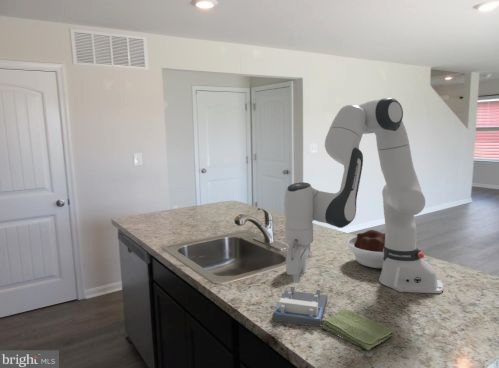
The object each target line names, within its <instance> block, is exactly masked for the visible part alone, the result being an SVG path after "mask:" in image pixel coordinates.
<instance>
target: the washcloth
mask: <svg viewBox="0 0 499 368" xmlns="http://www.w3.org/2000/svg"><path fill="white" fill-rule="evenodd" d="M321 327H322V328H323V329H324V330H325V331H328V332H329V333H331V332H332V333H331V334H333V333H334V334H333V335H335V334H336V335H335V336H337V335H339V336H341V337H343V338H342V339H343V340H346V341H348V342H349V341H350V343H352V344H355V345H357V346H359V347H361V348H362V349H364V350H365V351H370V350H371V349H373V348H375V347H376V346H377V345H380V344H382V343H383V342H385V341H386V340H387V339H389V338H390V337H392V336H393V335H394V331H392V329H391V328H389V327H387V326H386V325H384V324H382V323H379V322H378V321H376V320H372V319H371V318H367V317H365V316H363V315H360V314H359V313H356V312H355V311H352V310H349V309H343V310H340V311H339V312H337V313H335V315H333V316H328V317H326V318H323V320H322V322H321ZM339 336H338V337H339ZM341 337H340V338H341ZM381 342H382V343H381Z"/></svg>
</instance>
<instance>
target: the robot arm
mask: <svg viewBox="0 0 499 368" xmlns="http://www.w3.org/2000/svg"><path fill="white" fill-rule="evenodd" d="M403 110H404V109H403V107H402V104H401V103H400V102H399V101H398V100H397V99H396V98H392V97H383V98H381V99H376V100H369V101H366V102H364V103H362V104H359V105H354V104H347V105H345V106H342V108H340V110H339V111H338V112H337V114H336V115H335V117H334V118H333V121H332V122H331V125H330V127H329V129H328V132H327V134H326V136H325V140H324V149H325V151H326V153H327V155H328V156H329V157H331V158H332V159H333V160H334V161H336V162H337V163H339V164H341V165H343V173H342V179H341V183H340V189H339V190H338V191H337V192H335V193H333V192H327V191H322V190H318V189H316V188H314V187H313V186H312V185H311V183H308V182H301V181H300V182H296V183H292V184H289V185H288V186H286V187H287V188H286V190H285V194H284V203H283V204H284V205H283V207H284V210H283V211H284V212H283V213H284V215H285V221H284V230H283V231H284V233H283V234H284V242H285V243H287V244H289V248H288V251H287V250H286V265H285V267H286V269H285V270H286V271H285V272H286V273H287V275H291V276H292V278H293V283H295V284H299V283H300V281H301V276H303V275H304V274H305V273H304V264H305V261H306V262H307V258H308V257H309V255H310V253H311V252H310V251H311V244H312V243H313V242H314V221H316V222H318V223H324V224H327V225H330V226H332V227H333V226H334V227H336V228H339V229H342V228H345V227H347V226H348V225H350V224H351V223H352V222H353V221H354V219H355V218H356V214H357V199H358V193H359V188H360V183H361V182H360V181H361V179H362V178H361V176H362V171H363V165H364V156H363V155H364V154H363V152H362V151H361V149H360V144H361V141H362V138H363V135H364V134H365V135H366V134H367V135H368V134H374V135H375V138H376V139H375V141H376V148H377V153H378V158H379V159H378V160H379V165H380V170H381V173H382V175H383V178H384V182H385V185H384V186H383V188H382V192H381V193H382V203H383V215H384V225H385V226H384V229H385V230H384V233H385V245H384V247H383V260H384V261H383V267H382V268H381V272H380V275H379V278H378V282H380V283H381V284H382V285H383V286H386V287H388V288H391V289H393V290H394V291H396V292H399V293H417V294H418V293H423V294H425V293H426V294H441V293H443V292H442V291H444V284H443V282H442V281H441V280H440V279H438V278H437V277H438V276H437V273H436V270H435V269H434V267H433V266H432V265H431V264H430V263H429V262H427V261H426V260H424V257H425V254H424V253H423V251H422V250H421V249H420V248H419V247H417V230H418V229H417V224H416V220H415V216H417V215H418V214H420V213H421V212H423V210H424V209H425V206H426V197H425V195H424V194H423V191H422V187H421V184H420V181H419V178H418V176H417V173H416V170H415V167H414V161H413V159H412V158H413V157H412V153H411V152H412V151H411V147H410V140H409V136H408V133H407V130H406V125H404V122H403V121H404V120H403V117H404V111H403ZM303 273H304V274H303Z"/></svg>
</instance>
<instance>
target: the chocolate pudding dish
mask: <svg viewBox="0 0 499 368" xmlns="http://www.w3.org/2000/svg"><path fill="white" fill-rule="evenodd" d="M346 243H347V244H346V245H347V248H348V250H349V251H350V252H351V253H352V254H353V257H354V259H355V261H356V262H357V263H359V264H360V265H362V266H365V267H369V268H373V269H374V268H375V269H382V267H383V261H384V260H383V247H384V245H385V232H384V233H383V232H380V231H378V230H375V229H369V230H366V231H364V232H361V233H357V234H356V236H354V237H352V238H349V239H348V240H347V242H346Z"/></svg>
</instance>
